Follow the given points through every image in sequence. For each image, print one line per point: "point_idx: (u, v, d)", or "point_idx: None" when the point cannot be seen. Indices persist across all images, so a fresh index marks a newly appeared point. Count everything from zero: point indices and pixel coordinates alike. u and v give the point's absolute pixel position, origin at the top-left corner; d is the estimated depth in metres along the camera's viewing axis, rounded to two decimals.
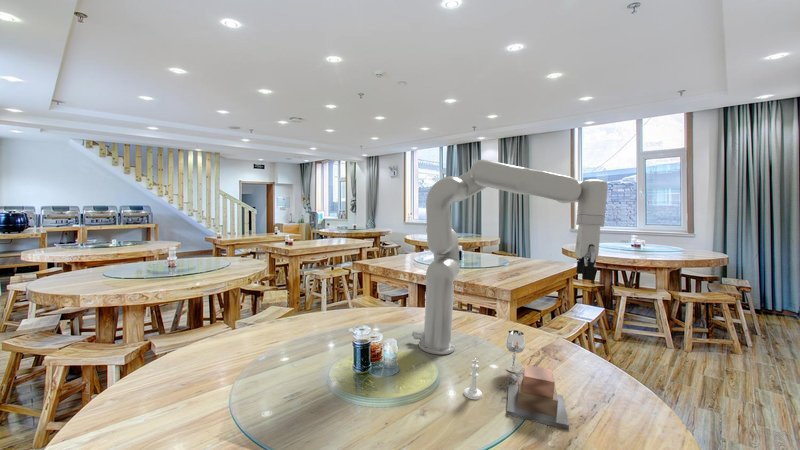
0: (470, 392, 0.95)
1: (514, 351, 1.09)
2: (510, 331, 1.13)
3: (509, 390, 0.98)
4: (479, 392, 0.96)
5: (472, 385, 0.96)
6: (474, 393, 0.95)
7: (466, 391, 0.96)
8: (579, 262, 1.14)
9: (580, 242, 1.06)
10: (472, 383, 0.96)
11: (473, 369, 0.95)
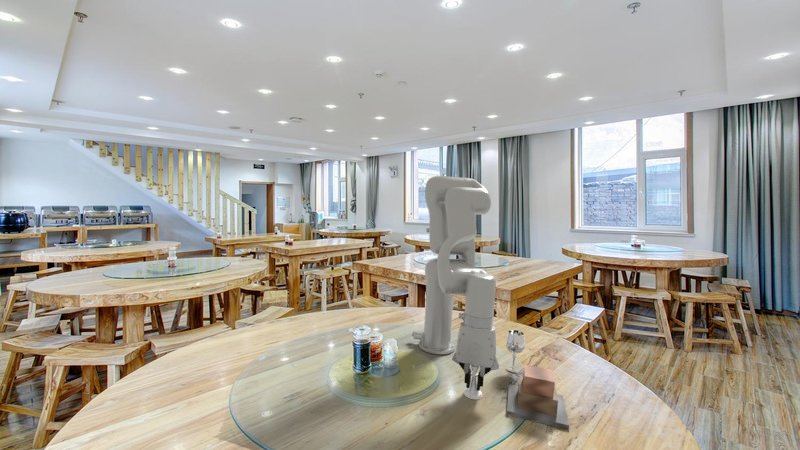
0: (470, 392, 0.95)
1: (514, 351, 1.09)
2: (510, 331, 1.13)
3: (509, 390, 0.98)
4: (479, 392, 0.96)
5: (472, 385, 0.96)
6: (474, 393, 0.95)
7: (466, 391, 0.96)
8: (469, 375, 0.95)
9: (488, 350, 0.92)
10: (472, 383, 0.96)
11: (473, 369, 0.95)
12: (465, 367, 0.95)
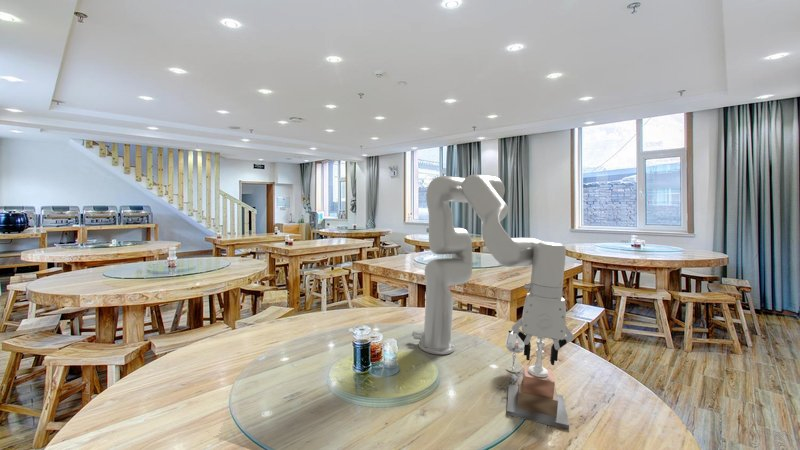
0: (536, 370, 0.91)
1: (514, 351, 1.09)
2: (510, 331, 1.13)
3: (509, 390, 0.98)
4: (545, 370, 0.91)
5: (538, 362, 0.91)
6: (541, 370, 0.90)
7: (531, 369, 0.91)
8: None
9: (558, 321, 0.87)
10: (538, 360, 0.91)
11: (539, 346, 0.91)
12: (525, 338, 0.91)
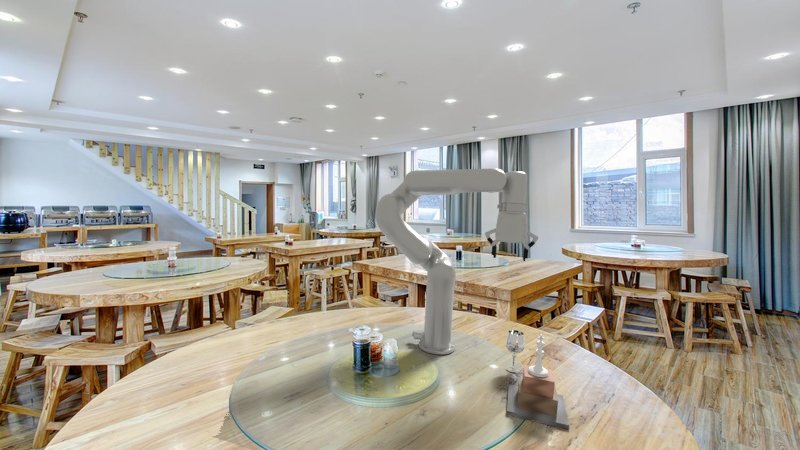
0: (536, 370, 0.91)
1: (514, 351, 1.09)
2: (510, 331, 1.13)
3: (509, 390, 0.98)
4: (545, 370, 0.91)
5: (538, 362, 0.91)
6: (541, 371, 0.90)
7: (531, 369, 0.91)
8: (496, 247, 1.22)
9: (521, 229, 1.17)
10: (538, 360, 0.91)
11: (539, 346, 0.91)
12: (492, 241, 1.22)
